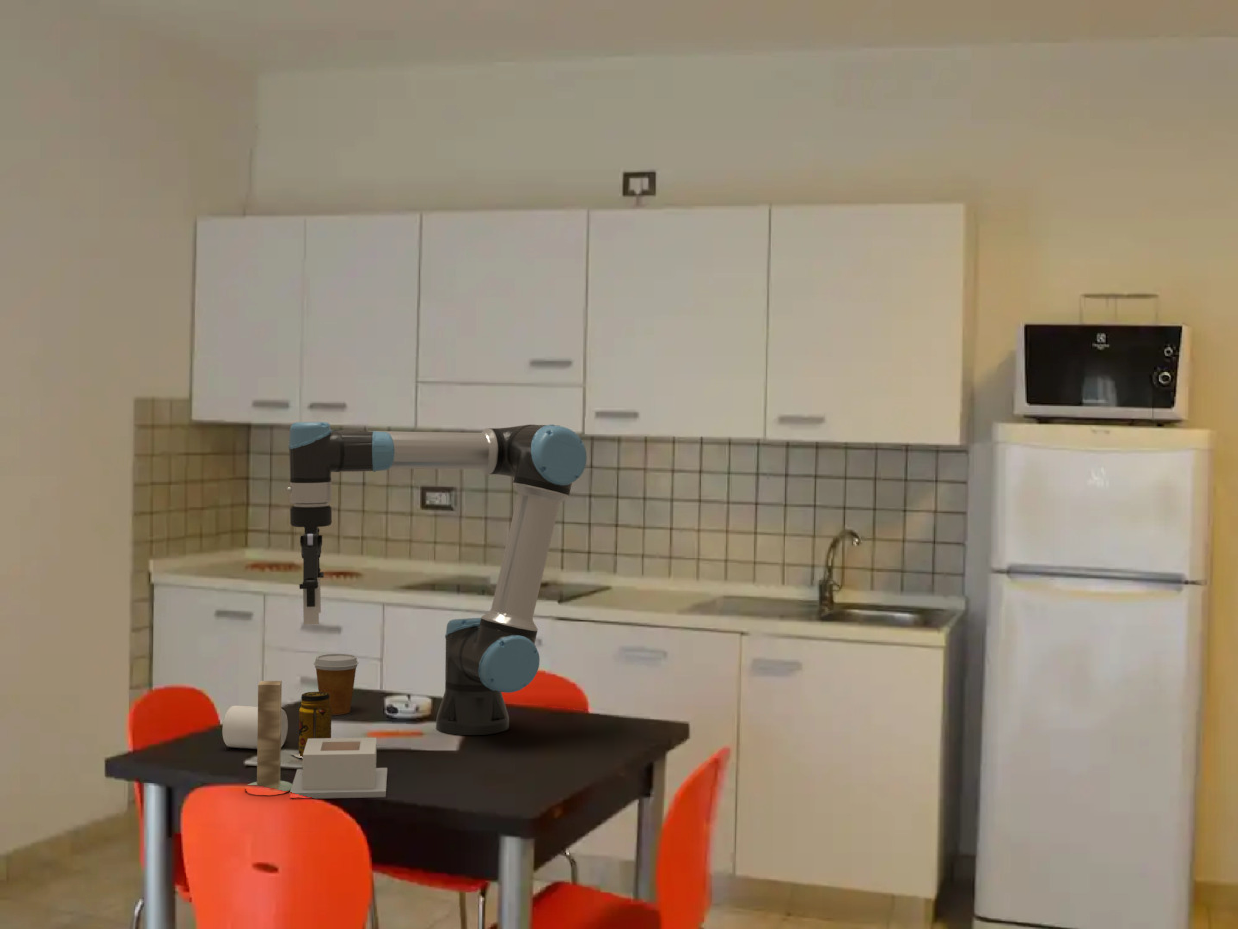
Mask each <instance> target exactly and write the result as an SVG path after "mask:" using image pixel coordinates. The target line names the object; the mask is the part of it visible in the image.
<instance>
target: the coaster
mask: <svg viewBox="0 0 1238 929" xmlns="http://www.w3.org/2000/svg"><path fill="white" fill-rule="evenodd" d="M292 784H293V783H292V782H289V781H285V780H280V786H279V789H278V790H282V791H291V787H292ZM247 785H257V781H253V782H251V783H249V784H247Z"/></svg>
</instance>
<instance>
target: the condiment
mask: <svg viewBox="0 0 1238 929" xmlns="http://www.w3.org/2000/svg"><path fill="white" fill-rule="evenodd" d="M329 697H330V696H329V694H328V693H326V692H319V691H308V692H304V693H302V694H301V703H300V705H301V706H300V708H299V710H298V754H300V756H302V757H303V753H304V749H305V746H306V743H307V740H308V739H310V738H332V715H331V711H332V710H331V708H330V706H329V704H330V701H329Z"/></svg>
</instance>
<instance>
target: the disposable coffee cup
mask: <svg viewBox="0 0 1238 929" xmlns="http://www.w3.org/2000/svg"><path fill="white" fill-rule="evenodd" d="M313 665H314V667H315V671H316V680H317V688H318V691H317V692H326V693H328V694H329V696H330V697H329V701H330V704H329V706H330V708H331V710H332V711H331V716H336V715H337V716H338V715H340V716H341V715H345V714H346V715H347V714H349V713H351V707H352V701H353V694H354V686H355V680H356V679H355V678H356V671H357V667H358V666H359V661H358V659H357V656H356V655H353V654H348V653H330V654H329V653H328V654H321V655H317V656H316V658H315V660H314V662H313Z"/></svg>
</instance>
